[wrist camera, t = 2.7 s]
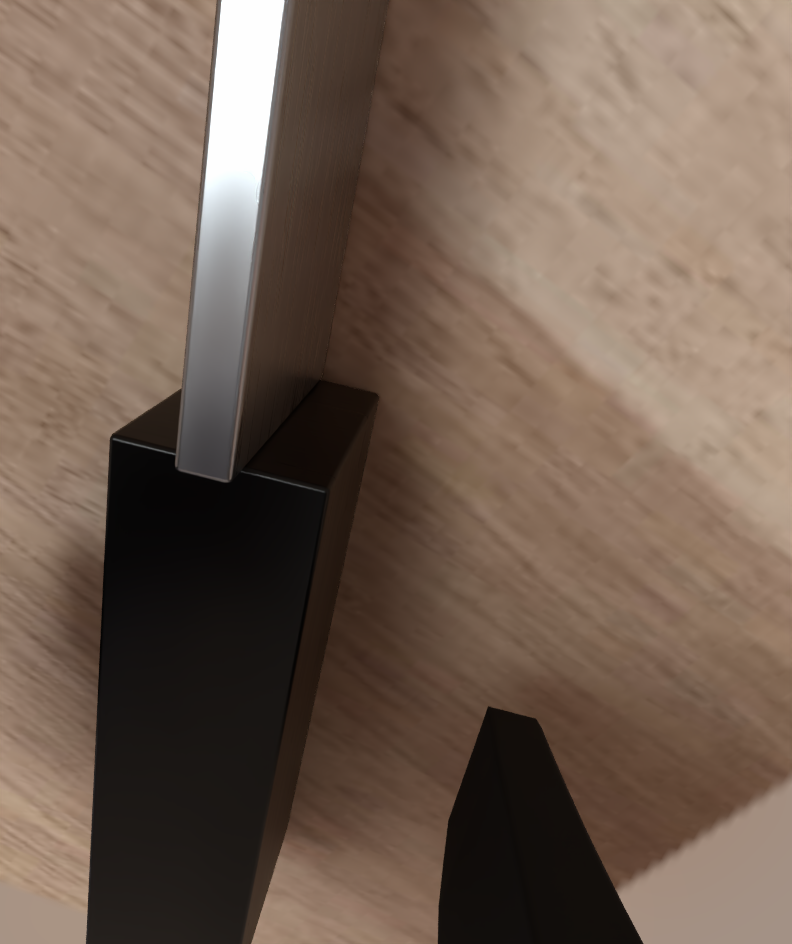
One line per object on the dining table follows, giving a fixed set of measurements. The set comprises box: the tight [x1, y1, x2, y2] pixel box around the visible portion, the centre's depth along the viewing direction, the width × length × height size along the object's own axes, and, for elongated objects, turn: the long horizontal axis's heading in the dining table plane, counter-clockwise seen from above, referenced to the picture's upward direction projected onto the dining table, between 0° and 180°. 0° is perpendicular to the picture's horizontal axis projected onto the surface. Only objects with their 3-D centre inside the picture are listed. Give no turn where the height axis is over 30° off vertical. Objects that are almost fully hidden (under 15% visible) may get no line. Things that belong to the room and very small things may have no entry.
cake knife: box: [86, 0, 389, 944], centre depth 6 cm, size 20×2×3 cm, turn 168°
